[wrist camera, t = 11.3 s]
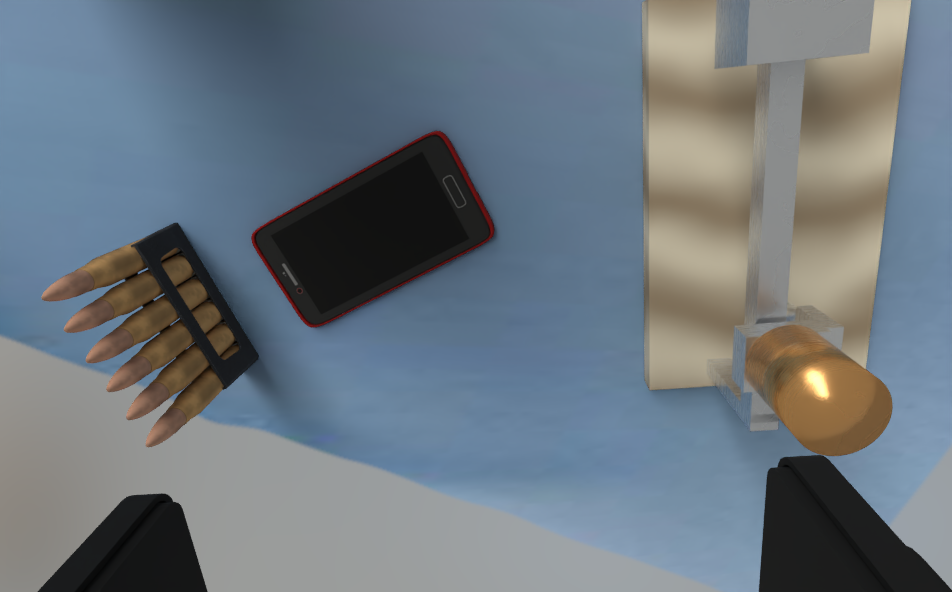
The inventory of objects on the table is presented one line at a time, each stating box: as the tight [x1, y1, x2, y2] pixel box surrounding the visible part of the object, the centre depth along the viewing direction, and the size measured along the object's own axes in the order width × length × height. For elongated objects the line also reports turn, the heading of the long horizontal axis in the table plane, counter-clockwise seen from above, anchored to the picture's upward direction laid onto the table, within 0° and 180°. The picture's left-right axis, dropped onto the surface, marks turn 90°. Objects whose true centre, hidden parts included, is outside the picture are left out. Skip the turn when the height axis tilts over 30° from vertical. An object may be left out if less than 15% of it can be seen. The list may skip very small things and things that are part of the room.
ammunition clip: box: [42, 223, 259, 447], centre depth 35 cm, size 11×2×12 cm, turn 24°
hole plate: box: [642, 0, 911, 390], centre depth 37 cm, size 24×14×2 cm, turn 5°
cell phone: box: [251, 131, 494, 327], centre depth 39 cm, size 8×15×1 cm, turn 118°
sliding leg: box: [732, 302, 892, 456], centre depth 31 cm, size 4×5×14 cm
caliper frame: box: [707, 0, 875, 431], centre depth 32 cm, size 23×6×9 cm, turn 5°
